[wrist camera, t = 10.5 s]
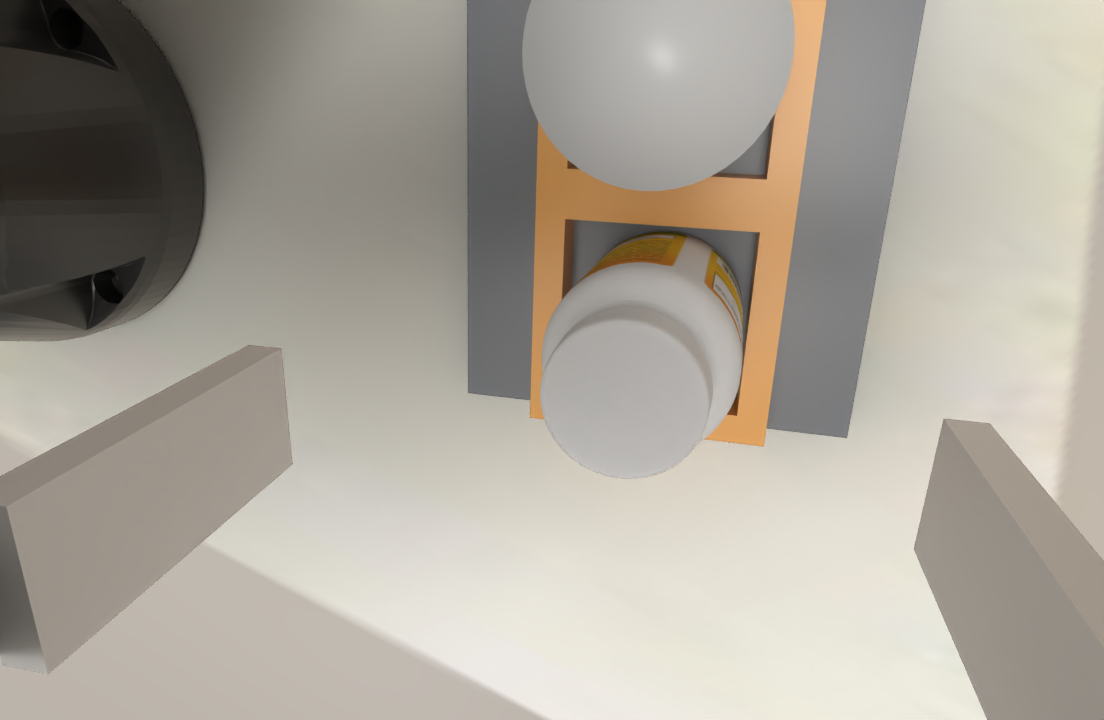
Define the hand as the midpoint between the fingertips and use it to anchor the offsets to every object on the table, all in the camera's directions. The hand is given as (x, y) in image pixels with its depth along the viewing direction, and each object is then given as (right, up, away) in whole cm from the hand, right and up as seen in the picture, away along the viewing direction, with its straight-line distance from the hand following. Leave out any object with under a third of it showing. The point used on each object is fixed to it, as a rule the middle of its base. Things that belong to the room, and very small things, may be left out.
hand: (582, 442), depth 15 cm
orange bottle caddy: (+4, +8, +11) cm, 14 cm away
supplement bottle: (+3, +4, +11) cm, 13 cm away
